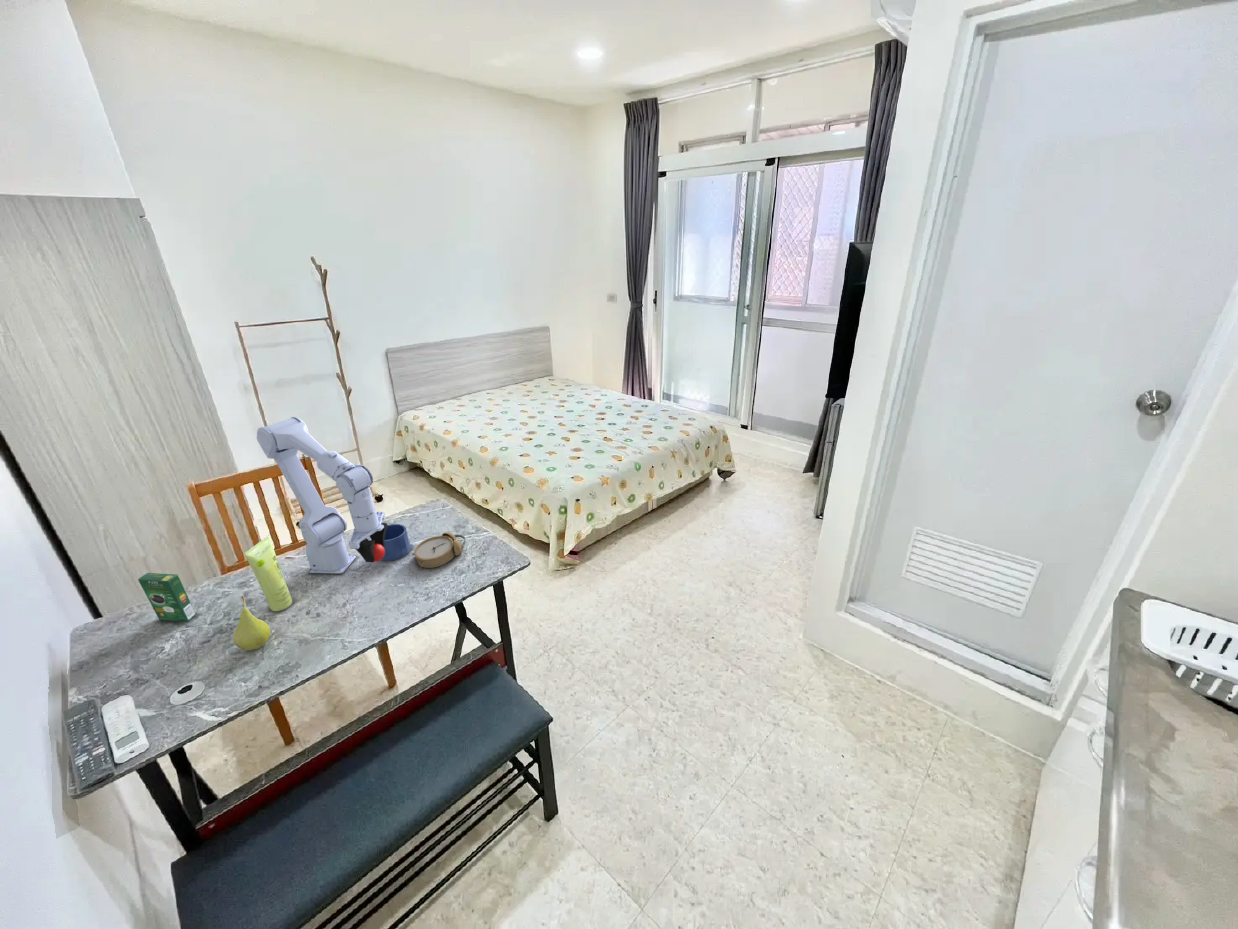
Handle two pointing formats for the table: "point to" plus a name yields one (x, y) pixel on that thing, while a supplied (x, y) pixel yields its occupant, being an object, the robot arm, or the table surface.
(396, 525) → the cup
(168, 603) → the coffee box
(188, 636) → the table surface
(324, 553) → the robot arm
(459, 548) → the alarm clock
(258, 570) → the tube
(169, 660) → the table surface
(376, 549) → the tomato
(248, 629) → the fruit
